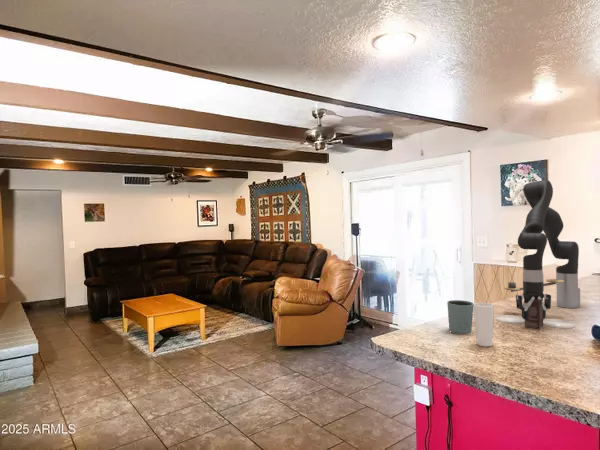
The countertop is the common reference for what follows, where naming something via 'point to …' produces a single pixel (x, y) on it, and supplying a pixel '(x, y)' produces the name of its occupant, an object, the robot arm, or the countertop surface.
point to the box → (535, 314)
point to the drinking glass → (484, 323)
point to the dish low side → (510, 319)
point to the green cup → (460, 316)
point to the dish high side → (558, 323)
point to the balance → (513, 288)
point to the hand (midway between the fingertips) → (533, 319)
